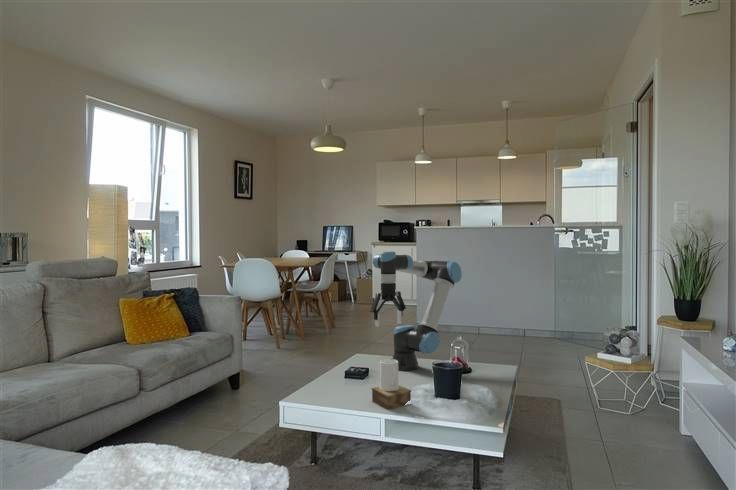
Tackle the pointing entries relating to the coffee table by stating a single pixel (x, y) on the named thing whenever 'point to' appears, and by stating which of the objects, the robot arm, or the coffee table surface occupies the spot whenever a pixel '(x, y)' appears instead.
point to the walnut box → (391, 397)
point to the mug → (389, 375)
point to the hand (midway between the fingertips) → (388, 325)
